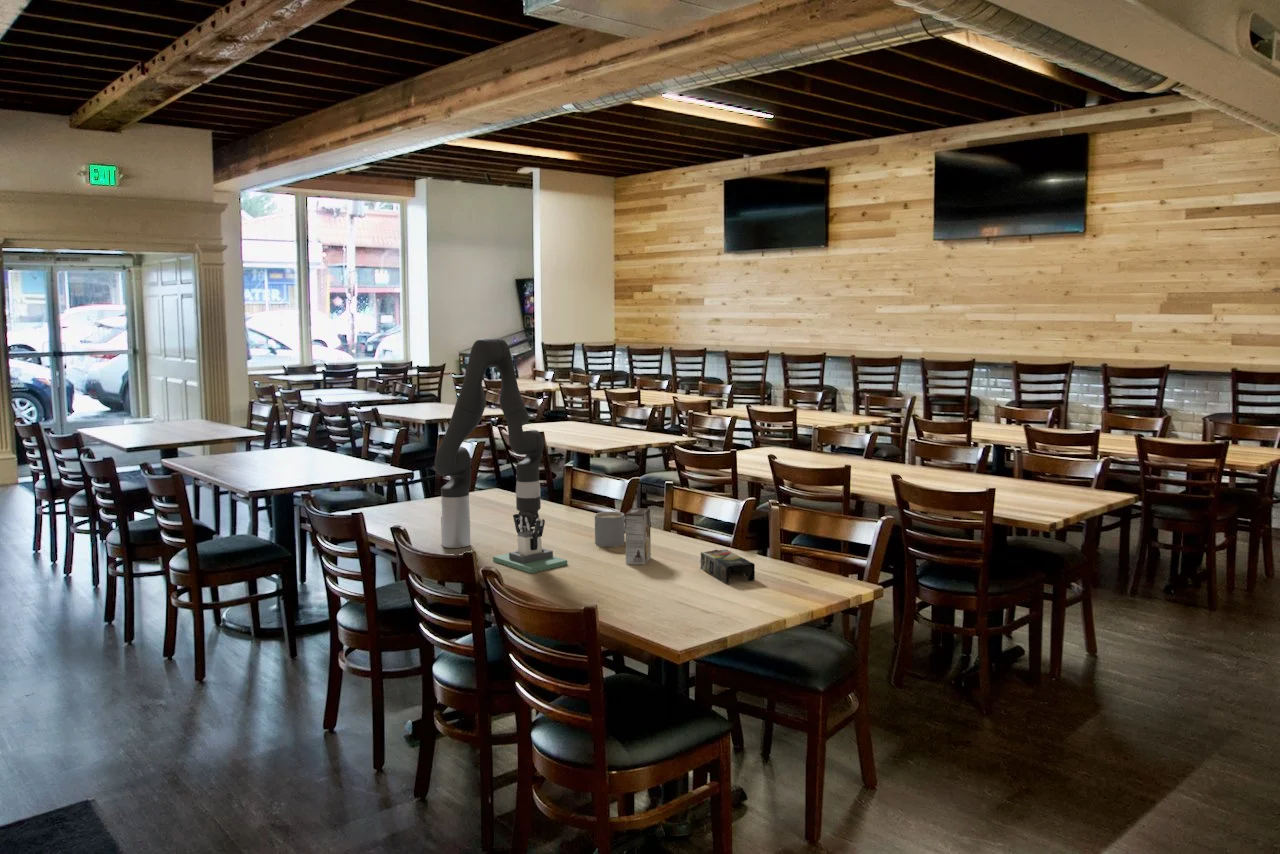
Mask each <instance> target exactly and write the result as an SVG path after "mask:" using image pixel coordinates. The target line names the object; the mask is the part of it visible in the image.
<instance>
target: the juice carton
mask: <svg viewBox="0 0 1280 854" xmlns="http://www.w3.org/2000/svg"><path fill="white" fill-rule="evenodd" d="M699 555H700V567H699V568H700V570H702V571H704V572H705V573H707V574H709V575H711V576H712V577H713V578H715V579H717V580H719V582H722V583H723V584H725V585H730V583H729V578H730V573H731V571H732V570H733V571H735V572H738V573H739V574H741V575H743V576H745V577H746V578H747V581H750V582H751V581H755V577H756V575H755V572H756V571H755V568H756V567H755V563H754V562H752V561H750V560H748V559H746V558H744V557H742V556H740V555H738V554H736V553H734V552H732V551H730V550H729V549H712V550H708V551H704V552H703V551H701V552H700V554H699Z"/></svg>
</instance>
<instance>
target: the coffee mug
mask: <svg viewBox="0 0 1280 854" xmlns="http://www.w3.org/2000/svg"><path fill="white" fill-rule="evenodd" d="M625 535H626V530H625V513H624V512H621V511H601V512H597V513H595V514H594V544H596V545H595V546H597V547H601V546H602V547H601V548H616V547H615V546H618V547H621V545H622V546H624V545H625V544H626V541H625ZM623 544H624V545H623Z"/></svg>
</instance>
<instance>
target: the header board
mask: <svg viewBox="0 0 1280 854" xmlns="http://www.w3.org/2000/svg"><path fill="white" fill-rule="evenodd" d="M492 562H495V563H497V562H498V564H500V563H501V564H500V565H503V564H504V566H506V565H507V566H506V567H509V566H510V568H512V567H513V569H515V568H516V570H518V569H519V570H518V571H522V570H523V571H522V572H525V573H528V574H534V573H535V574H536V573H539V572H538V571H540V572H543V570H544V571H547V569H548V570H552V569H556V568H560V566H561V567H564V565H565V566H568V559H564V558H561V557H558V556H554V553H553V550H550V549H547V548H543V547H542V552H540V553H536V554H531V555H527V556H524V555H521V554H518V550H515V551H511V552H507V553H503V554H499V555H494V556H492ZM555 567H556V568H555ZM551 568H552V569H551Z"/></svg>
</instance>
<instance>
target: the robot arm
mask: <svg viewBox="0 0 1280 854" xmlns="http://www.w3.org/2000/svg"><path fill="white" fill-rule="evenodd" d="M488 368H496V369H497V371H498V373H499V375H500V380H501V387H500V393H499V405H500V408H501V411H502V413H503V416H504V419H505V422H506V425H507V431H508V432H507V434H508V442H509V446H510V448H511V450H512V452H514V453H515V454H516V455H525V456H524V459H522V460H521V461H519V462H518V463H517V464H516V466H515V467H516V469H515V470H516V472H515V473H516V474H515V475H516V478H515V479H516V485H515V506H516V507H515V508H516V510H517V511H519V512H518V513H514V514H512V517H513V522H514V526H515V530H516V533H517V534H518V532H523V531H528V532H529V533H530V538H531V539H530V549H531V550H537V547H538V544H537V539H538V537H541V538H542V537H543V532H544V530H545V523H546V520H545V519H544V518H543V519H541V518H540V515H539V511H540V510H541V508H542V507H541V503H542V502H541V483H540V465H541V462H542V461H541V460H542V457H543V456H542V455H543V452H544V447H545V441H544V437H543V434H542V433H541V432H540V431H539V430H536V429H531V430H526V431H525V430H523V426H525V425H526V424H527V423H528V422H529V420H530V416H529V413H528V411H527V409H526V406H525V403H524V400H523V398H522V395H521V392H520V389H519V385H518V382H517V376H516V371H515V367H514V362H513V357H512V354H511V350H510V347H509V344H508V343H507V341H506V340H505V339H503V338H502V337H501V338H500V337H488V338H487V337H483V338H478V339H476V340H475V342H474V343H473V344H472V346H471V349H470V354H469V356H468V363H467V366H466V370H465V375H464V377H463V382H462V386H461V387H460V388H461V389H460V392H459V394H458V396H457V399H456V403H455V404H454V405H455V406H454V408H453V412H452V415H451V418H450V421H449V424H448V426H447V429H446V431H445V435H443V438H442V441H441V442H440V444H439V446H438V449H437V451H436V455H435V458H434V469H435V471H436V474H437V475H439V476H441V477H451V478H450V479H449V480H448V482H446V483H445V484H444V485H442V487H441V488H440V497H441V498H440V499H441V500H440V501H441V503H440V504H441V517H440V526H441V530H440V531H441V532H440V533H441V544H442V546H443V548H449V549H460V548H461V547H462V548H465V547H469V546H471V544H472V543H471V541H472V540H471V516H470V515H471V513H470V509H471V508H470V489H471V485H472V458H471V455H470V452H469V451H468V449H467V448H465V447H463V446H461V445H462V444H463V442H464V441H465V440H466V438H468V437H469V435H470V434H472V433H473V431H474V430H475V429H476V427H478V426H479V423H480V422H481V420H482V417H483V414H484V413H485V408H486V404H487V401H486V395H485V392H484V388H483V380H484V376H485V373H486V371H487V369H488ZM533 531H534V534H533ZM538 531H539V533H538Z"/></svg>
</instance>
